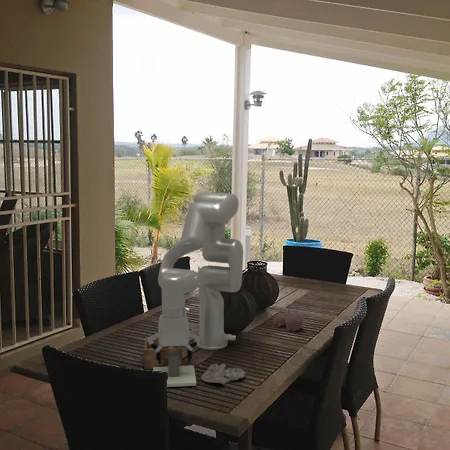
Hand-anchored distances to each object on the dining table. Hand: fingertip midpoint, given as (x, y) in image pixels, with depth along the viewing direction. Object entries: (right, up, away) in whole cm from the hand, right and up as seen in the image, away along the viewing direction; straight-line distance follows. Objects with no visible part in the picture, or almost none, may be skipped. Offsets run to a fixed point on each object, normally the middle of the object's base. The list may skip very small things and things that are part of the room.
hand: (174, 361), depth 176 cm
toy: (+45, +1, +53) cm, 69 cm away
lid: (0, -5, 0) cm, 5 cm away
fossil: (+16, -6, +2) cm, 18 cm away
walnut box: (-5, -4, +16) cm, 17 cm away
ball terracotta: (-3, -1, +19) cm, 19 cm away
